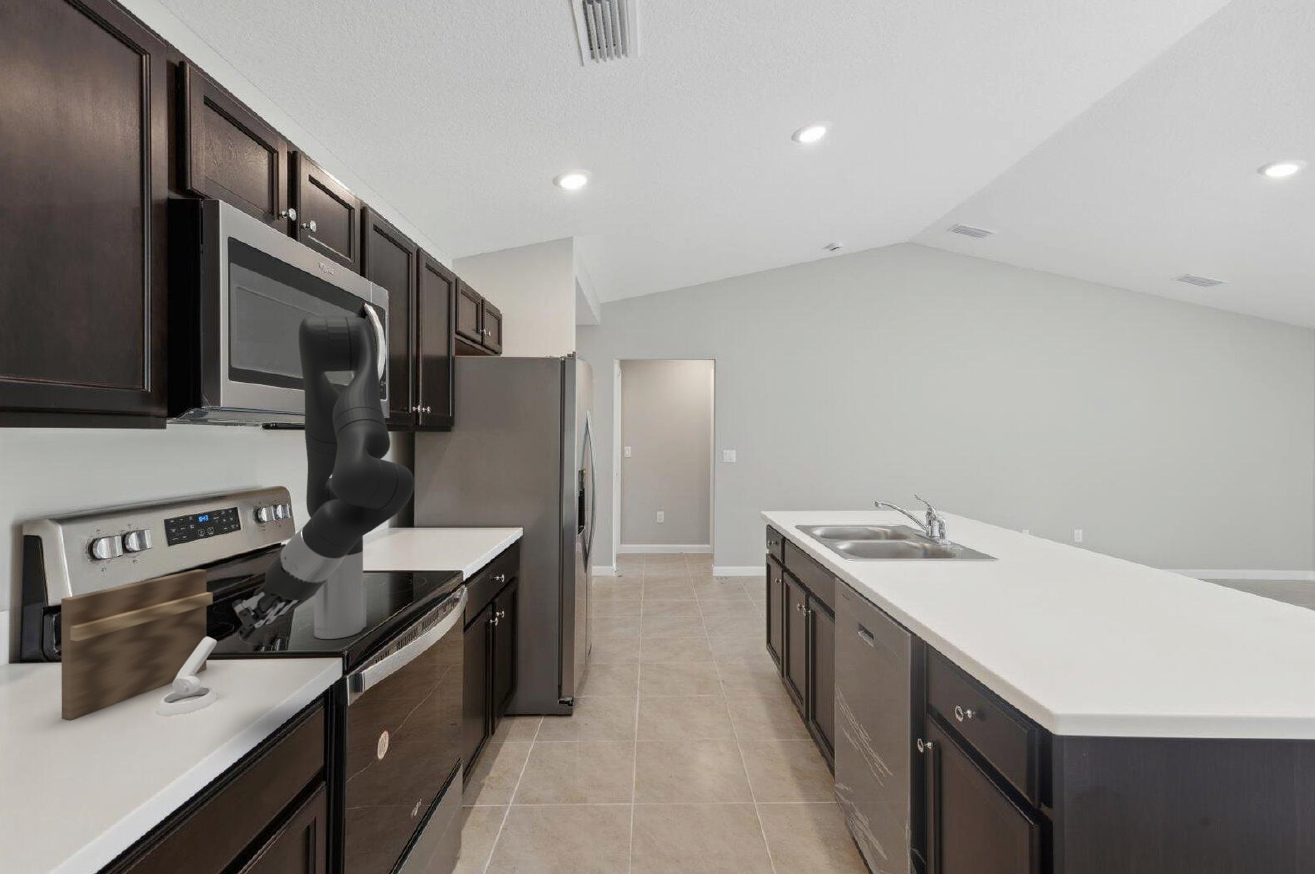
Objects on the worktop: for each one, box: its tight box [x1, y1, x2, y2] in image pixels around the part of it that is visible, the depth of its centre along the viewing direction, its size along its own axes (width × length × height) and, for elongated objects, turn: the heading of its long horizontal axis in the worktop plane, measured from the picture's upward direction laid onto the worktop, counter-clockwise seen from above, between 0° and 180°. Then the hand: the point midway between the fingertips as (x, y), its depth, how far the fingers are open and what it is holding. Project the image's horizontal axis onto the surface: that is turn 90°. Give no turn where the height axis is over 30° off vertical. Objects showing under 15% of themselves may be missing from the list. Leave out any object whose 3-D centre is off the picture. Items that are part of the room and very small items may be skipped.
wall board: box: [60, 568, 214, 721], centre depth 99 cm, size 20×4×18 cm, turn 163°
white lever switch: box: [155, 636, 218, 717], centre depth 96 cm, size 8×12×7 cm
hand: (244, 635), depth 91 cm, fingers closed
